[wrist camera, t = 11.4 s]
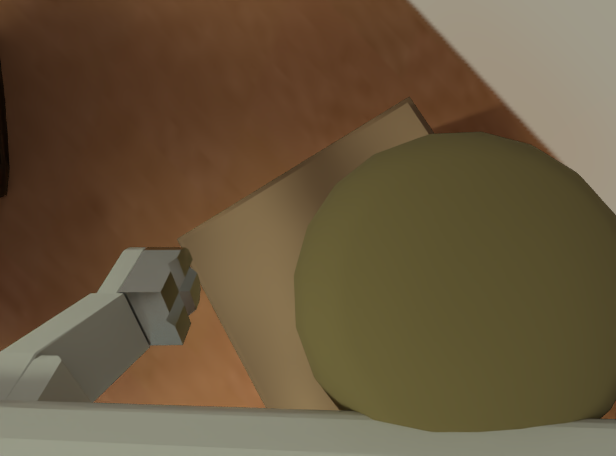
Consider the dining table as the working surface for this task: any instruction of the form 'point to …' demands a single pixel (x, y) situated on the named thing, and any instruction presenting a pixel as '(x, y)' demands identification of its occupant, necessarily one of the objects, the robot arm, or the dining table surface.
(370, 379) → the olive knobbed peg
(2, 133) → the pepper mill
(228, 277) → the walnut block
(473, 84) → the dining table surface
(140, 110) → the dining table surface
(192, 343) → the dining table surface
